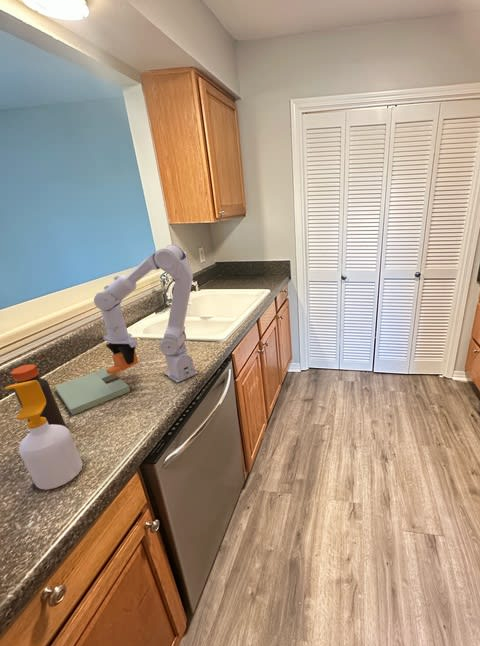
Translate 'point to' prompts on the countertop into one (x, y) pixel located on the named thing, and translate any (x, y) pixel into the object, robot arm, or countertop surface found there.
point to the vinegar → (51, 408)
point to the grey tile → (90, 390)
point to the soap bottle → (45, 441)
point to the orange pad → (120, 363)
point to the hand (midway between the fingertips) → (126, 362)
